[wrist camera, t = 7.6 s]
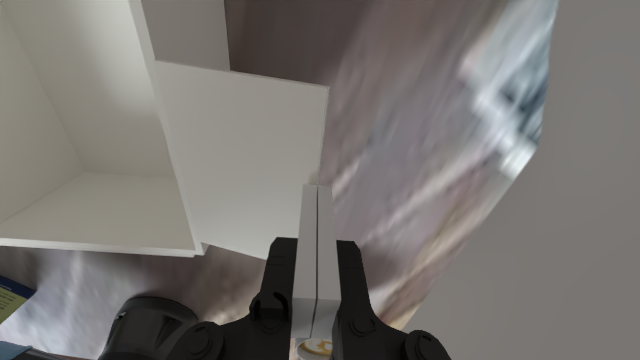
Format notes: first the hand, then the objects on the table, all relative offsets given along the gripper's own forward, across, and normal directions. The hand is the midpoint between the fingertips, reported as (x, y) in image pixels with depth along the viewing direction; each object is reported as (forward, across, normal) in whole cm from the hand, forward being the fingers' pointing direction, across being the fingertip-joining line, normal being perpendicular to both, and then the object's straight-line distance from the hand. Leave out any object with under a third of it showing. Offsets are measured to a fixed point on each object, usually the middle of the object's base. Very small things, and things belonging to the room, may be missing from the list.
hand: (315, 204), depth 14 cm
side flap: (+3, +9, 0) cm, 9 cm away
